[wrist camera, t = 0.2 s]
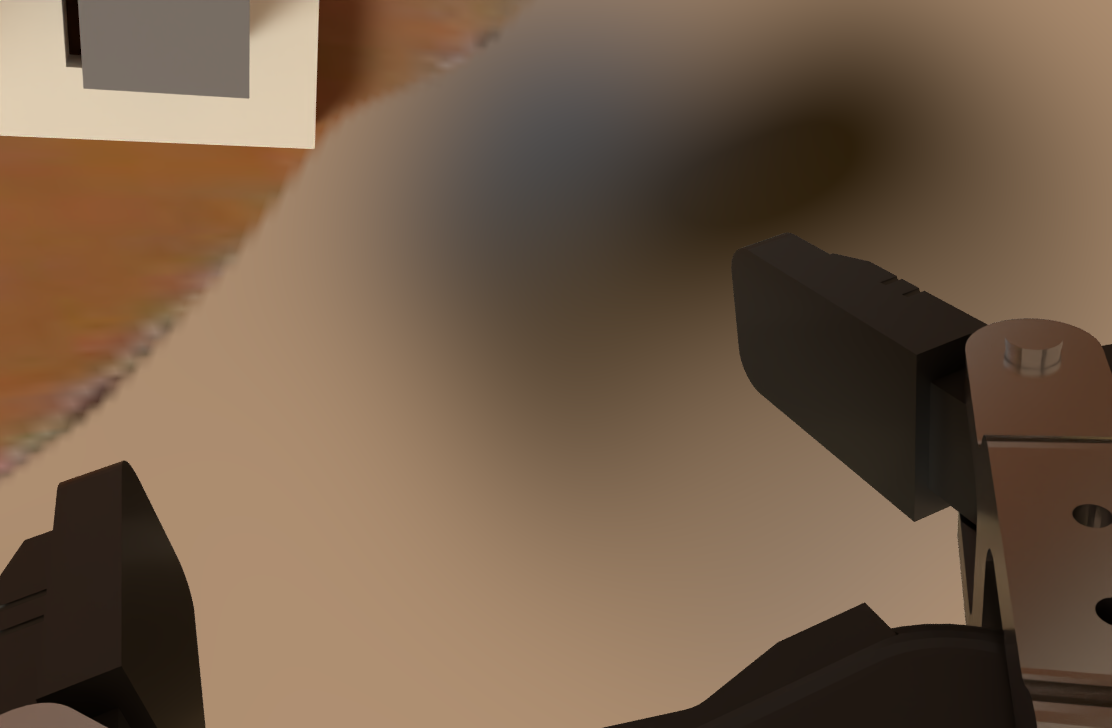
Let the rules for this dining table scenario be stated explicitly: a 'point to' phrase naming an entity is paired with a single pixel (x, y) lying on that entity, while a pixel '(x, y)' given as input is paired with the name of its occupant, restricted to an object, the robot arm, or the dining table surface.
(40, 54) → the socket block
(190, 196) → the dining table surface
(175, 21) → the plug
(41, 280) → the dining table surface
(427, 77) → the dining table surface
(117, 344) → the dining table surface
